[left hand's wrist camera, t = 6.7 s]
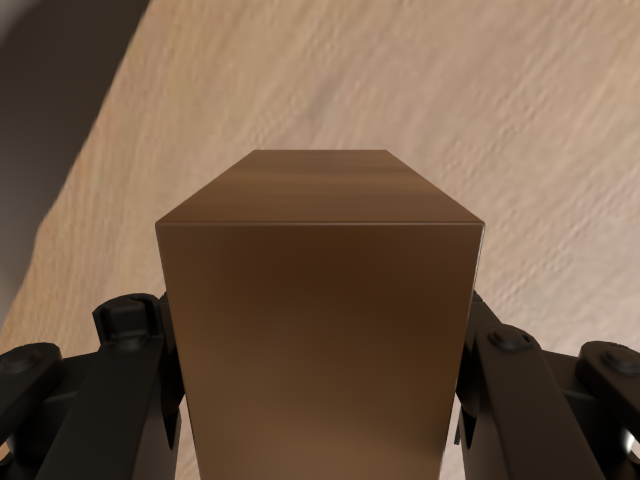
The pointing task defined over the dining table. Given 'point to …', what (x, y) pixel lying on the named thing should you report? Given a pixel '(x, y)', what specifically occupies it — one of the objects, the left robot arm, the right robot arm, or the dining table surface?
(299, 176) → the bar
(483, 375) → the left robot arm
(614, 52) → the dining table surface
